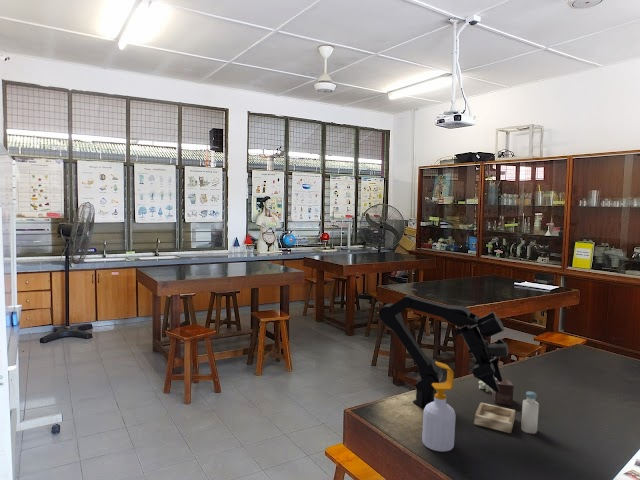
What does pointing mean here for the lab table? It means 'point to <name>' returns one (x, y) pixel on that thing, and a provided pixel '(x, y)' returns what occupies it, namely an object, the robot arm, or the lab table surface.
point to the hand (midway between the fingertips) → (499, 386)
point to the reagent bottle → (530, 413)
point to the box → (504, 392)
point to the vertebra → (484, 386)
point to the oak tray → (495, 417)
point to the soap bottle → (439, 417)
